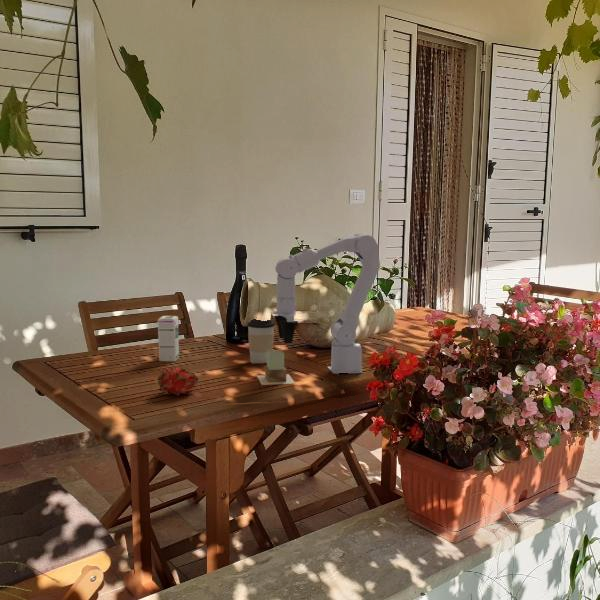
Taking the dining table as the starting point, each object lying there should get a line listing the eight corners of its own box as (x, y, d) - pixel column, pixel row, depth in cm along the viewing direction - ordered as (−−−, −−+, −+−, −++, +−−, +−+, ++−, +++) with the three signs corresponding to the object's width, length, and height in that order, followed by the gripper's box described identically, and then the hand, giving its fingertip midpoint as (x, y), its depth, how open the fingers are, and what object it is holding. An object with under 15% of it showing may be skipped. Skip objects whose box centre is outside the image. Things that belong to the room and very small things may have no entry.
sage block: (281, 365, 198) (281, 349, 197) (284, 369, 193) (284, 353, 192) (266, 366, 197) (267, 350, 196) (269, 370, 192) (269, 353, 192)
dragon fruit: (153, 401, 180) (194, 401, 185) (163, 390, 173) (205, 391, 179) (151, 372, 183) (191, 374, 189) (160, 360, 177) (202, 362, 183)
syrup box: (176, 361, 216) (175, 318, 214) (158, 361, 216) (157, 318, 214) (179, 357, 222) (178, 315, 220) (162, 357, 222) (161, 315, 220)
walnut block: (282, 376, 199) (283, 365, 198) (286, 381, 194) (286, 370, 193) (265, 377, 198) (265, 366, 197) (268, 382, 192) (268, 370, 192)
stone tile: (288, 375, 202) (288, 374, 202) (295, 384, 192) (295, 383, 192) (256, 377, 200) (256, 375, 199) (261, 386, 190) (261, 384, 190)
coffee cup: (257, 357, 224) (257, 314, 222) (279, 361, 219) (280, 317, 217) (241, 362, 216) (242, 318, 214) (264, 366, 212) (264, 321, 209)
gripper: (269, 294, 208) (268, 335, 210) (277, 301, 194) (277, 346, 196) (290, 293, 209) (290, 335, 211) (300, 300, 195) (300, 345, 197)
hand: (285, 340), depth 204 cm, fingers open, 7 cm apart
